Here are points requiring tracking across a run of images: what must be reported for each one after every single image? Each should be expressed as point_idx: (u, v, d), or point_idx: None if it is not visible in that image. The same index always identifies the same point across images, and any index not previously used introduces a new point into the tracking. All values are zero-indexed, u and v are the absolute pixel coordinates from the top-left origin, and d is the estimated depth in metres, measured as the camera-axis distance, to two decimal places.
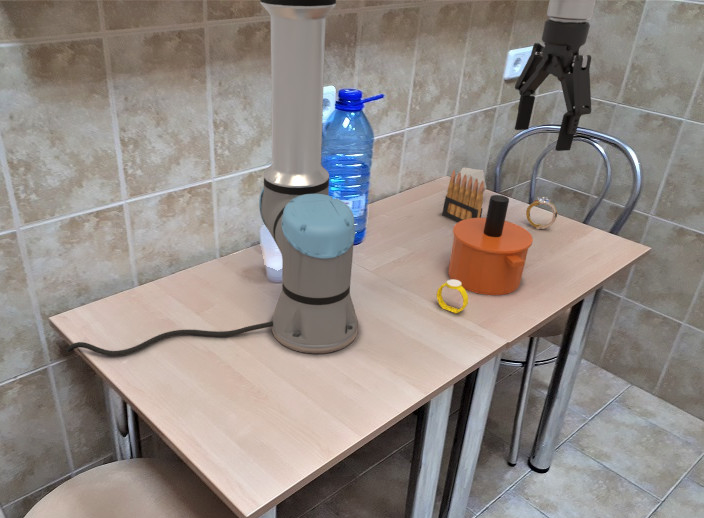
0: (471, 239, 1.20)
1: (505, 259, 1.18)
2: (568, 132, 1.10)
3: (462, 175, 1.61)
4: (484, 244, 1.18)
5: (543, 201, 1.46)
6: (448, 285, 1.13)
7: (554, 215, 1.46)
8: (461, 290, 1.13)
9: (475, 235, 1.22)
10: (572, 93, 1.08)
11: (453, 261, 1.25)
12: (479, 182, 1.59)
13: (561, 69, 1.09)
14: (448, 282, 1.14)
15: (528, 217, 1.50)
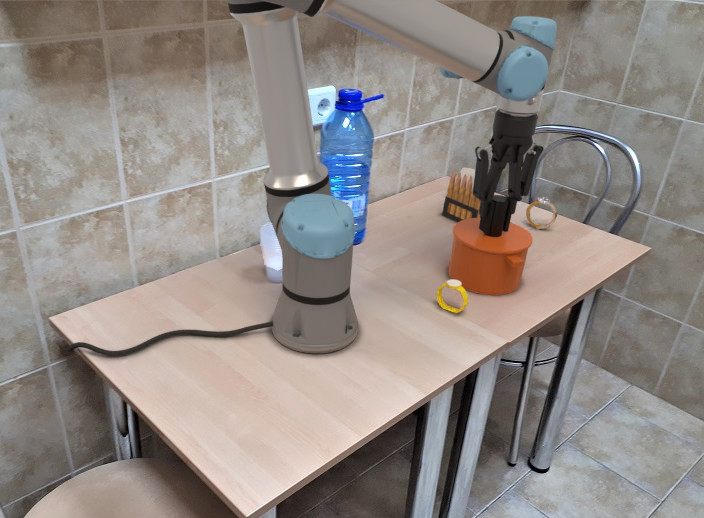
0: (470, 239, 1.20)
1: (505, 259, 1.18)
2: None
3: (462, 175, 1.61)
4: (484, 244, 1.18)
5: (543, 201, 1.46)
6: (448, 285, 1.13)
7: (554, 215, 1.46)
8: (461, 290, 1.13)
9: (475, 235, 1.22)
10: (488, 180, 1.16)
11: (453, 261, 1.25)
12: None
13: None
14: (448, 282, 1.14)
15: (528, 217, 1.50)
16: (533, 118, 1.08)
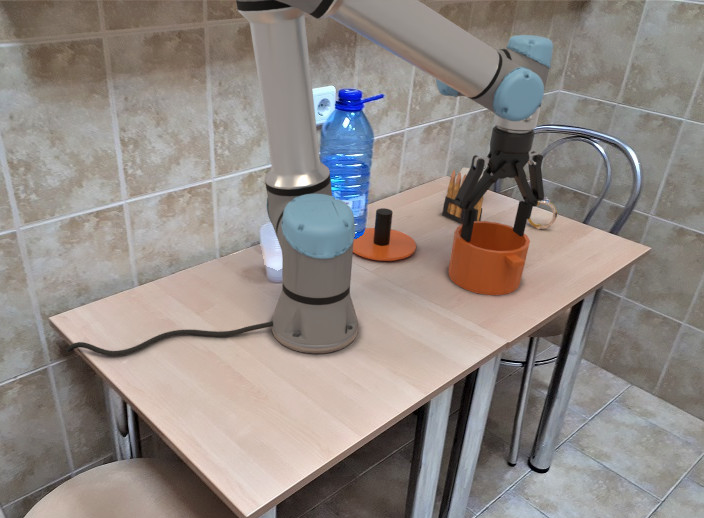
0: (359, 248, 1.35)
1: (505, 259, 1.18)
2: None
3: (462, 175, 1.61)
4: (370, 252, 1.34)
5: (543, 201, 1.46)
6: None
7: (554, 215, 1.46)
8: None
9: (364, 244, 1.37)
10: (475, 189, 1.17)
11: (453, 261, 1.25)
12: None
13: (487, 167, 1.16)
14: None
15: None
16: (530, 134, 1.10)
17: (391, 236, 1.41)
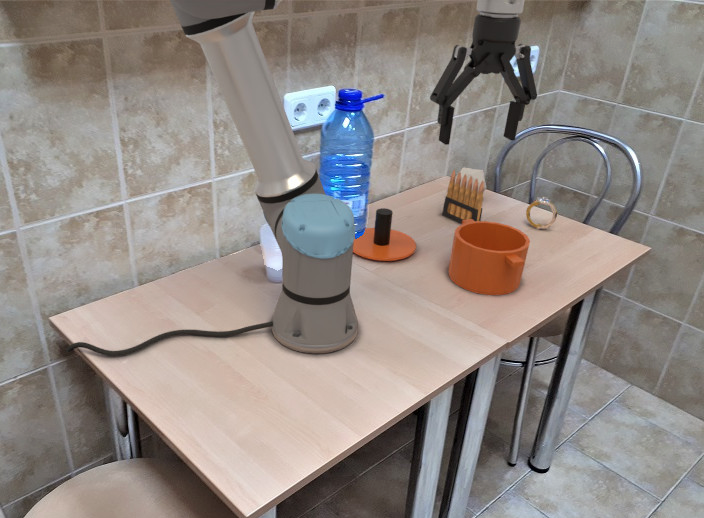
0: (359, 248, 1.35)
1: (505, 259, 1.18)
2: None
3: (462, 175, 1.61)
4: (370, 252, 1.34)
5: (543, 201, 1.46)
6: None
7: (554, 215, 1.46)
8: None
9: (364, 244, 1.37)
10: (455, 84, 1.07)
11: (453, 261, 1.25)
12: (479, 182, 1.59)
13: (469, 62, 1.07)
14: None
15: (528, 217, 1.50)
16: (516, 19, 1.00)
17: (391, 236, 1.41)
